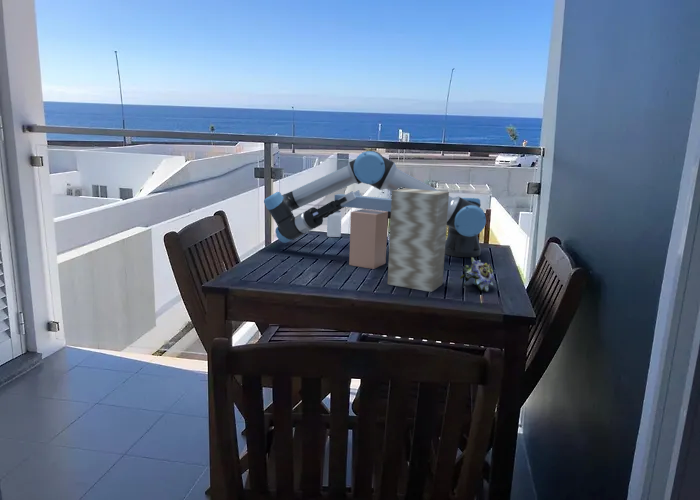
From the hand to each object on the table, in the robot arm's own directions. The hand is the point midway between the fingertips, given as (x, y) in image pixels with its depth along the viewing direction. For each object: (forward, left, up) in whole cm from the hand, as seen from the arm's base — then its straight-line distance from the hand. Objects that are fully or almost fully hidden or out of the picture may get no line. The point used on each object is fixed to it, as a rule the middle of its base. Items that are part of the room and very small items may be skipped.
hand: (356, 194), depth 190 cm
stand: (-21, +26, -25) cm, 42 cm away
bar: (-3, +2, -5) cm, 6 cm away
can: (+12, -48, -26) cm, 56 cm away
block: (-5, +2, -25) cm, 26 cm away
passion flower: (-40, +27, -26) cm, 55 cm away
